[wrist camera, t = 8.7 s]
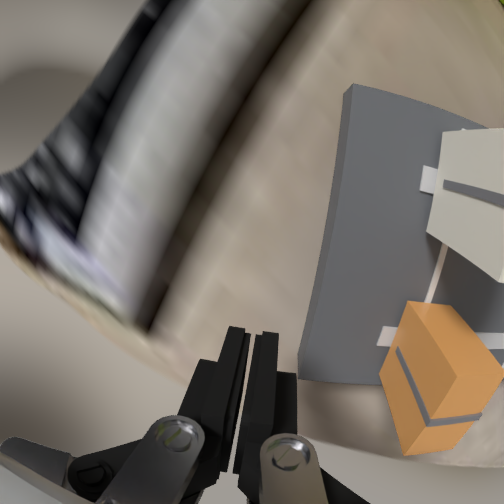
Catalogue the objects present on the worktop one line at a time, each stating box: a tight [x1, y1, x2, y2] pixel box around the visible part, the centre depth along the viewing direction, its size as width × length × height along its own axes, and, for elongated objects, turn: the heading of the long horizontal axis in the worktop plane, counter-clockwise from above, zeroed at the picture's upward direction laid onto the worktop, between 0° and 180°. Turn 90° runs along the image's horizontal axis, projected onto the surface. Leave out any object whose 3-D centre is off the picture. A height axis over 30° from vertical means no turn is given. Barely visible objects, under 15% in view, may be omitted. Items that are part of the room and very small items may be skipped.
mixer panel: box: [298, 83, 504, 385], centre depth 12 cm, size 16×13×2 cm
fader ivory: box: [426, 128, 504, 283], centre depth 7 cm, size 2×4×5 cm, turn 173°
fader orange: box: [379, 301, 504, 456], centre depth 9 cm, size 2×4×5 cm, turn 173°
